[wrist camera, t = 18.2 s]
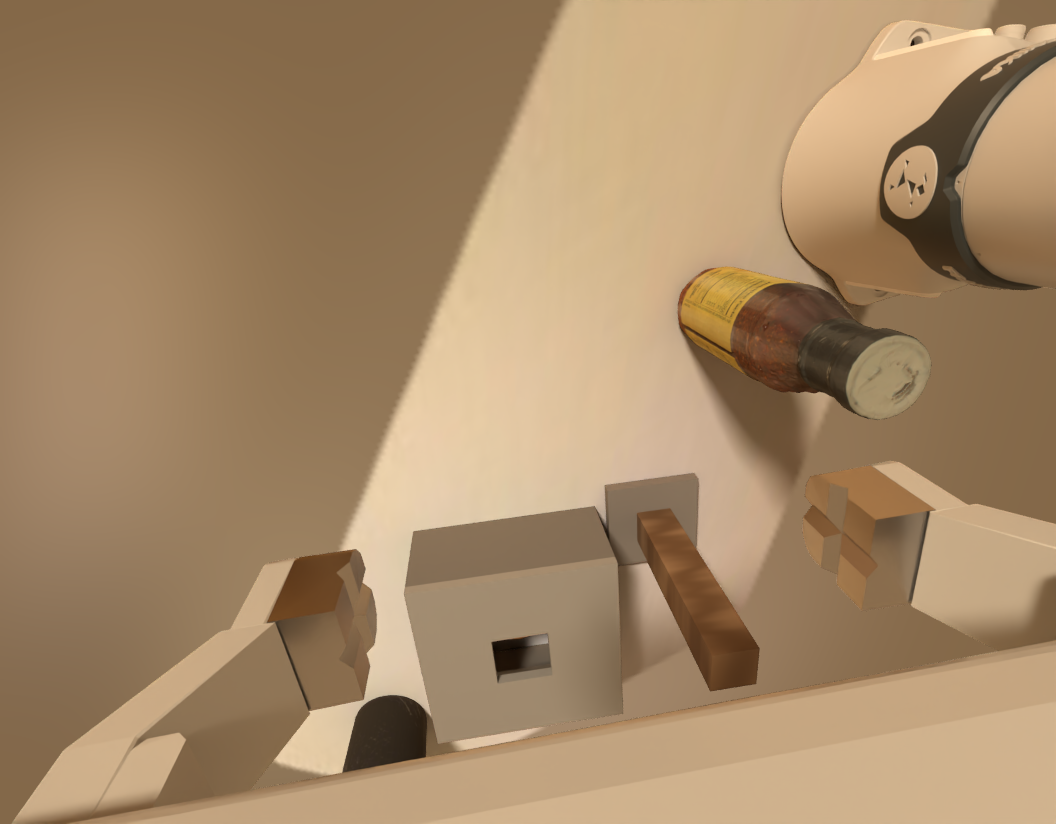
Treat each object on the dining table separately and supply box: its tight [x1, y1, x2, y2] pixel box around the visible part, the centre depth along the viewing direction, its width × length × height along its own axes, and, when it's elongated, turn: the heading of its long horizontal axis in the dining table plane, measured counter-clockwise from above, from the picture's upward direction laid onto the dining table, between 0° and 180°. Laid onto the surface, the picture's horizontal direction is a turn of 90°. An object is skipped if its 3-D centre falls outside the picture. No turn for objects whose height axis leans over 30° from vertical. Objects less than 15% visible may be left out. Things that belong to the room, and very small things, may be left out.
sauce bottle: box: [678, 267, 931, 420], centre depth 34 cm, size 6×6×20 cm
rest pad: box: [605, 473, 698, 566], centre depth 50 cm, size 8×8×1 cm
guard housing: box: [404, 506, 623, 744], centre depth 48 cm, size 16×16×8 cm
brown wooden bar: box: [637, 508, 759, 691], centre depth 42 cm, size 3×3×16 cm
